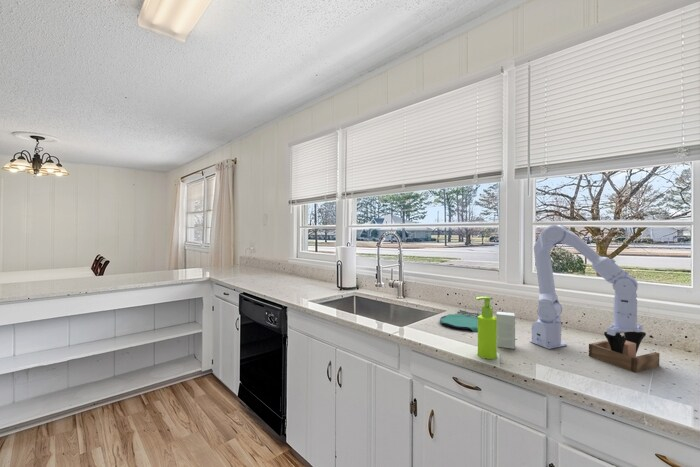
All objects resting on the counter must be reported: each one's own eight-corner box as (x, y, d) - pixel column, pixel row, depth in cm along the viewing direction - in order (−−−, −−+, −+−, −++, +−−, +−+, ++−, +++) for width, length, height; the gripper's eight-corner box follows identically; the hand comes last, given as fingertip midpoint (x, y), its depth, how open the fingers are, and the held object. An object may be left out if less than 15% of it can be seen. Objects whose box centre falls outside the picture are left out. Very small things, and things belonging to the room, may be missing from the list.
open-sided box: (634, 372, 93) (635, 359, 93) (588, 355, 105) (588, 343, 105) (659, 366, 97) (659, 353, 97) (612, 350, 109) (612, 339, 109)
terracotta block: (627, 363, 99) (628, 345, 99) (613, 358, 103) (613, 340, 103) (635, 361, 100) (636, 343, 100) (621, 357, 104) (621, 339, 104)
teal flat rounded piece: (432, 325, 139) (433, 320, 139) (456, 312, 162) (456, 307, 162) (479, 335, 126) (479, 330, 126) (498, 319, 150) (498, 314, 150)
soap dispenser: (471, 352, 109) (471, 295, 108) (490, 351, 109) (490, 294, 109) (480, 359, 103) (480, 299, 102) (500, 358, 103) (500, 298, 103)
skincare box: (514, 345, 115) (514, 312, 115) (515, 349, 111) (515, 316, 111) (496, 342, 117) (496, 311, 117) (496, 346, 114) (496, 314, 113)
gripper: (625, 318, 95) (624, 362, 95) (654, 313, 100) (653, 355, 100) (599, 312, 102) (599, 354, 102) (628, 308, 107) (627, 347, 107)
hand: (624, 354), depth 101 cm, fingers open, 7 cm apart
